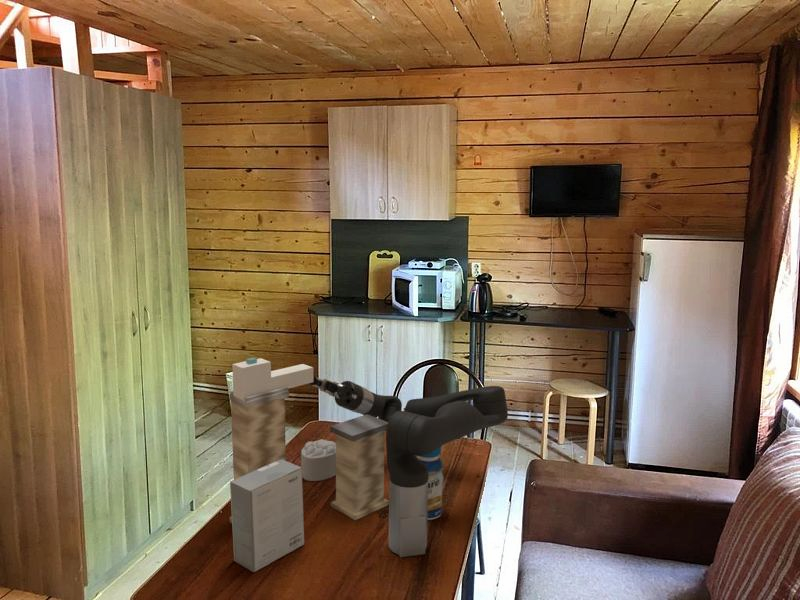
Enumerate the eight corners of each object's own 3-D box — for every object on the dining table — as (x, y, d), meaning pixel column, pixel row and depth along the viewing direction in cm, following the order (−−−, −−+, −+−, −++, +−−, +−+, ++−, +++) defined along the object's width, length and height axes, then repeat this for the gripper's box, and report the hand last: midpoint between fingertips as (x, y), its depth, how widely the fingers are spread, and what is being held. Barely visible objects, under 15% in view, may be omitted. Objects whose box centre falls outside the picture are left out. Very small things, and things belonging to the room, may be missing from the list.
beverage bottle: (445, 507, 177) (447, 437, 173) (438, 523, 169) (440, 450, 165) (415, 503, 179) (416, 433, 175) (406, 518, 171) (408, 445, 167)
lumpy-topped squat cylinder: (345, 467, 201) (345, 440, 199) (322, 484, 189) (322, 456, 188) (316, 460, 205) (316, 434, 204) (292, 477, 194) (292, 449, 192)
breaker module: (303, 378, 176) (302, 345, 174) (313, 382, 173) (313, 348, 171) (233, 395, 161) (232, 360, 159) (243, 400, 158) (242, 364, 156)
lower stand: (365, 491, 185) (365, 413, 181) (390, 504, 178) (391, 423, 174) (329, 507, 176) (328, 425, 172) (353, 521, 169) (353, 436, 165)
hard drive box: (284, 533, 163) (282, 458, 159) (305, 544, 158) (304, 467, 155) (232, 561, 151) (229, 480, 147) (253, 574, 146) (250, 490, 143)
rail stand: (272, 504, 177) (269, 380, 171) (292, 516, 171) (290, 388, 165) (229, 521, 168) (224, 391, 162) (248, 535, 162) (244, 400, 156)
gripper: (366, 416, 183) (326, 400, 171) (333, 404, 192) (293, 388, 181) (376, 391, 184) (337, 373, 173) (343, 380, 194) (304, 362, 183)
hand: (315, 380), depth 177 cm, fingers open, 8 cm apart
